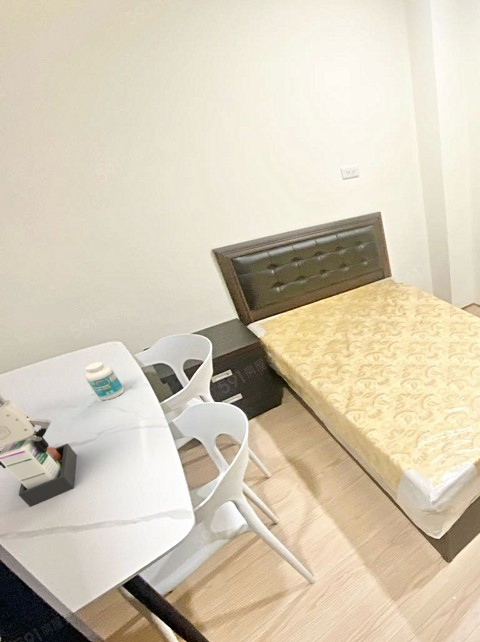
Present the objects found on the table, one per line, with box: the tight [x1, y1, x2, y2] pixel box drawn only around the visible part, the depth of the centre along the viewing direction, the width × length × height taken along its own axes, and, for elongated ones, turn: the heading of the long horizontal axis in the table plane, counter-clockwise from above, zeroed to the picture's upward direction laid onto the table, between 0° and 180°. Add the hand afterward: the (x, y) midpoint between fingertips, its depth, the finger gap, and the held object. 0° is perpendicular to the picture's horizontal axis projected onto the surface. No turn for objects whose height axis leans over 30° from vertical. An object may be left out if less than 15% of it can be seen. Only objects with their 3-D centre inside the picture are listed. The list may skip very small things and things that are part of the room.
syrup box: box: [0, 438, 61, 489], centre depth 108 cm, size 6×6×14 cm
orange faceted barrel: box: [47, 446, 62, 461], centre depth 116 cm, size 6×6×7 cm
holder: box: [18, 443, 78, 508], centre depth 114 cm, size 9×17×6 cm, turn 41°
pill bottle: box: [84, 361, 125, 401], centre depth 147 cm, size 8×7×14 cm
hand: (26, 456), depth 106 cm, fingers closed on syrup box, 6 cm apart
